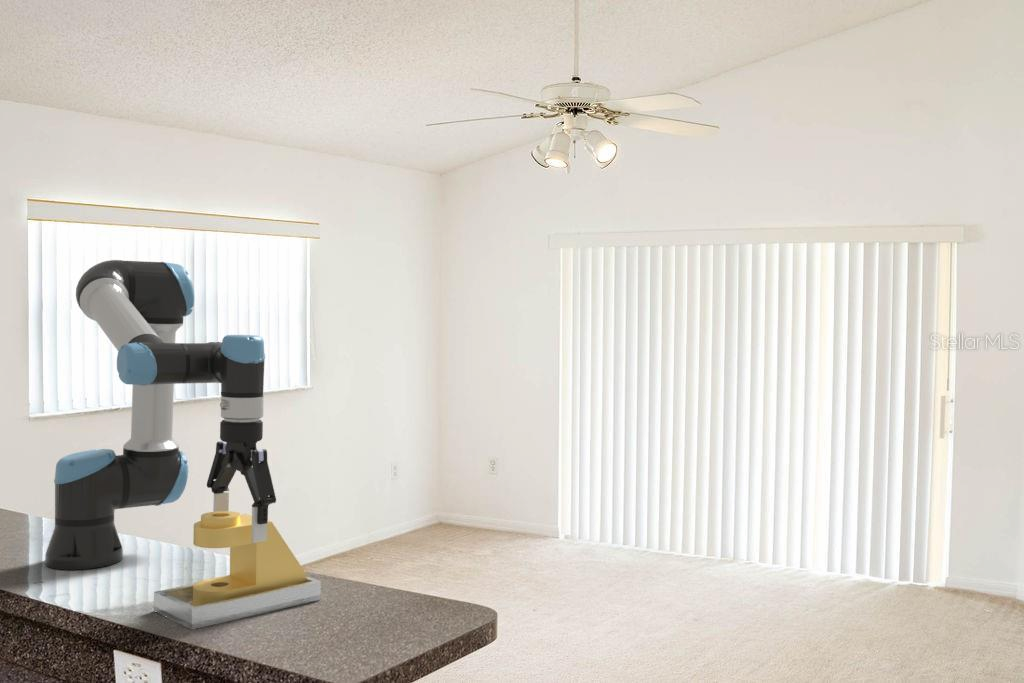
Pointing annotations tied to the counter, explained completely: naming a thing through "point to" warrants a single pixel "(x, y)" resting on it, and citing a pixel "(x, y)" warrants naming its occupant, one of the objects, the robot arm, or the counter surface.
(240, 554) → the yellow mounting bracket
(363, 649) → the counter surface
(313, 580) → the tray
